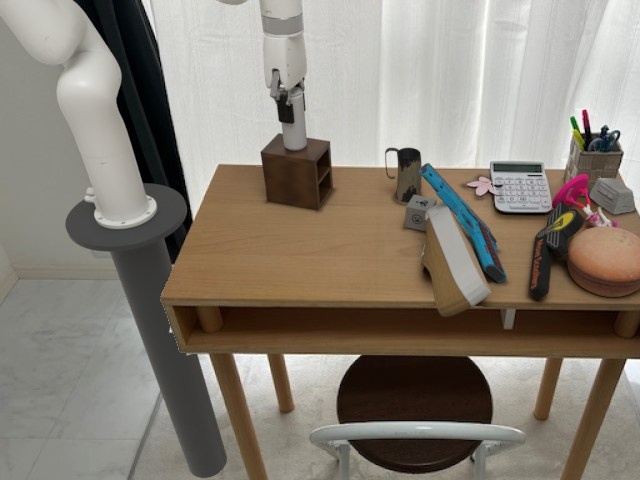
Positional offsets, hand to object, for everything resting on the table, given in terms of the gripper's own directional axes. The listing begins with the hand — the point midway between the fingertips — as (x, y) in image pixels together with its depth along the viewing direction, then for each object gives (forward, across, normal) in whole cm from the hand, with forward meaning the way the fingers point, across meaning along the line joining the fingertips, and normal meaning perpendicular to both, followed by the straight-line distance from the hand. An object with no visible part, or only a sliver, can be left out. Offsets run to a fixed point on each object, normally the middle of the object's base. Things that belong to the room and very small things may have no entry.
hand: (292, 115), depth 125 cm
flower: (+17, -16, +39) cm, 46 cm away
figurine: (+14, -12, +57) cm, 60 cm away
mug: (+19, -6, +22) cm, 30 cm away
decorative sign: (+18, +7, +53) cm, 56 cm away
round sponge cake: (+9, +8, +66) cm, 68 cm away
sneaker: (+12, +16, +41) cm, 45 cm away
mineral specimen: (+15, -15, +68) cm, 71 cm away
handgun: (+10, +20, +41) cm, 47 cm away
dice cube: (+19, +3, +28) cm, 34 cm away
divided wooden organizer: (+19, 0, 0) cm, 19 cm away
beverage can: (+7, 0, 0) cm, 7 cm away
